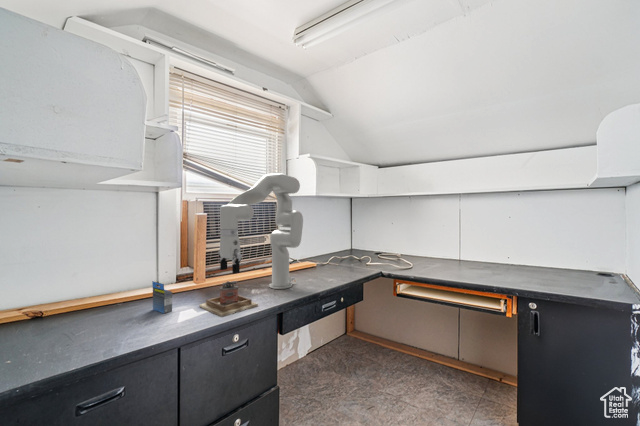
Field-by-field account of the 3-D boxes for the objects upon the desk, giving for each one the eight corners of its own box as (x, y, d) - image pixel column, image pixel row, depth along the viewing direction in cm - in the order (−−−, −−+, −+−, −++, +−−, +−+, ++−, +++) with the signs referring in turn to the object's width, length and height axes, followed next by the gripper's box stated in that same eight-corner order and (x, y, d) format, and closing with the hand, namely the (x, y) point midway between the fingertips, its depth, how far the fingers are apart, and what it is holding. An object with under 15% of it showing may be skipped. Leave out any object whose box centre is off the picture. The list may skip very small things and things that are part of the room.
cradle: (235, 297, 148) (235, 291, 148) (257, 306, 136) (257, 299, 136) (199, 306, 135) (199, 299, 135) (221, 316, 123) (221, 309, 123)
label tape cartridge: (172, 311, 129) (172, 282, 129) (163, 313, 126) (163, 284, 125) (160, 307, 134) (160, 279, 133) (152, 309, 130) (151, 281, 130)
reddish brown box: (220, 306, 132) (220, 283, 132) (219, 304, 135) (219, 281, 135) (239, 303, 136) (239, 281, 136) (237, 301, 139) (237, 279, 139)
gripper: (247, 233, 132) (248, 272, 133) (226, 231, 143) (226, 267, 144) (232, 235, 126) (233, 276, 127) (211, 232, 138) (212, 269, 139)
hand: (229, 271), depth 136 cm, fingers open, 9 cm apart
